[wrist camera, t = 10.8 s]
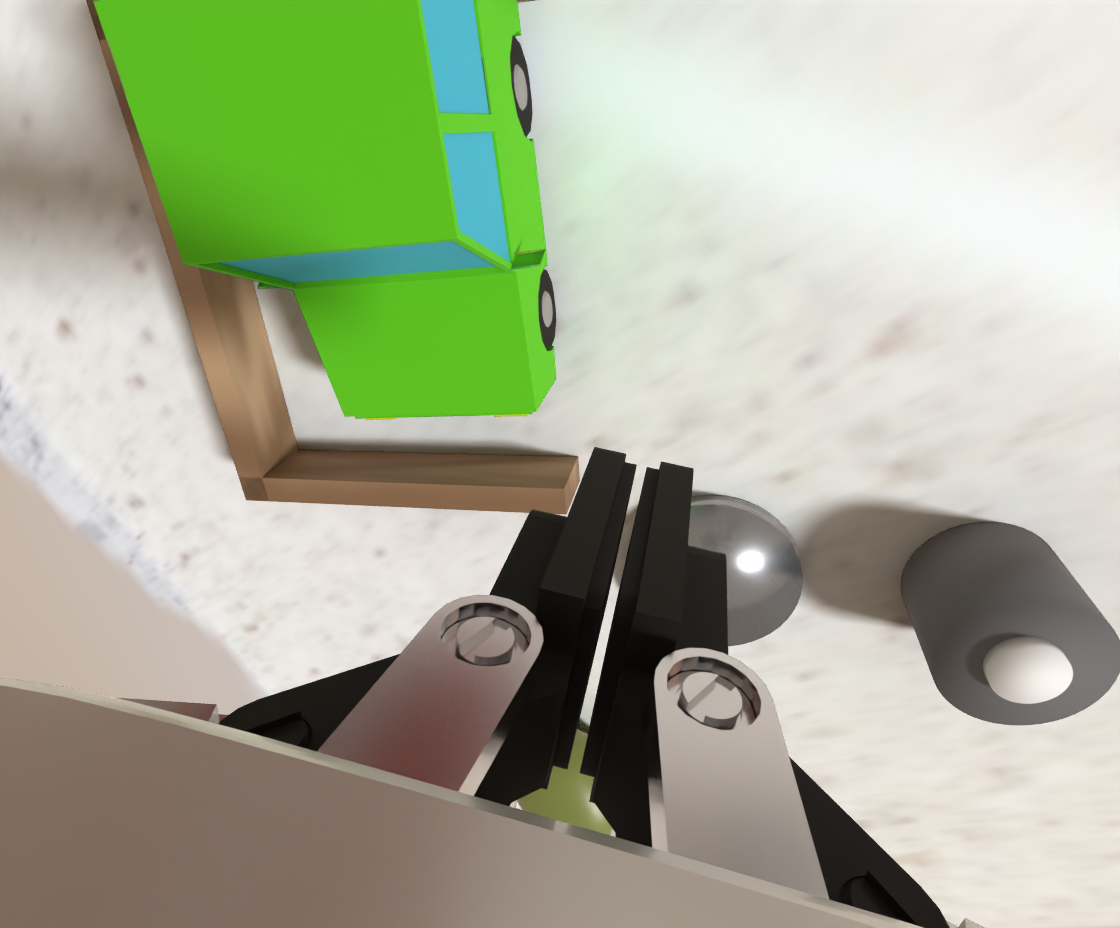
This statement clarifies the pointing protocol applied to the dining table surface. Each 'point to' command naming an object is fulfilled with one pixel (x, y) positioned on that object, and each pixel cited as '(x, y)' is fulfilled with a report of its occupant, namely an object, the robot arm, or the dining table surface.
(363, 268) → the toy car
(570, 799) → the pear
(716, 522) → the shallow metal dish
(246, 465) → the bay
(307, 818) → the robot arm
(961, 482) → the dining table surface
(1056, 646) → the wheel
